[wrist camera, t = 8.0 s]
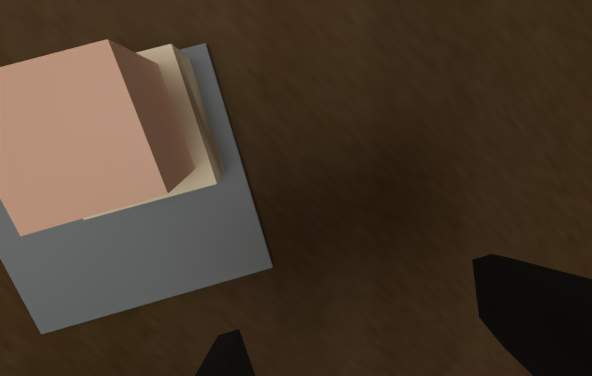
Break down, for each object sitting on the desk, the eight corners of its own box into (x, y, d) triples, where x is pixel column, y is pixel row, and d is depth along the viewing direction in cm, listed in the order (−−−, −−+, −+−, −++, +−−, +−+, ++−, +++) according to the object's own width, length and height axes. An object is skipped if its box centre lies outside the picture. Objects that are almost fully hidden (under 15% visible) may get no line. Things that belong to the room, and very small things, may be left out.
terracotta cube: (195, 168, 14) (168, 193, 10) (94, 197, 14) (20, 236, 10) (157, 63, 13) (107, 39, 9) (47, 93, 13) (-62, 83, 8)
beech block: (224, 170, 18) (216, 183, 14) (117, 199, 17) (83, 220, 14) (189, 58, 16) (171, 43, 13) (71, 87, 16) (20, 80, 13)
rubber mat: (272, 263, 20) (272, 267, 19) (46, 328, 19) (41, 334, 19) (206, 45, 17) (205, 43, 16) (-69, 113, 16) (-79, 113, 15)
